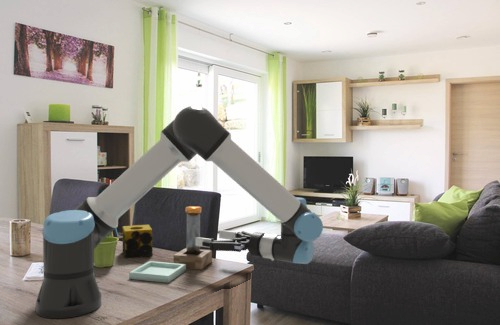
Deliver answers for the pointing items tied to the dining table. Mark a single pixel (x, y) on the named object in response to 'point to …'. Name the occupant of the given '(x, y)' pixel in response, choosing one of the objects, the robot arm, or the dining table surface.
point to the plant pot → (105, 252)
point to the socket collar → (193, 259)
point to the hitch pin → (193, 229)
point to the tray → (157, 271)
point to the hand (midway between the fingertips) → (208, 237)
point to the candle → (137, 241)
